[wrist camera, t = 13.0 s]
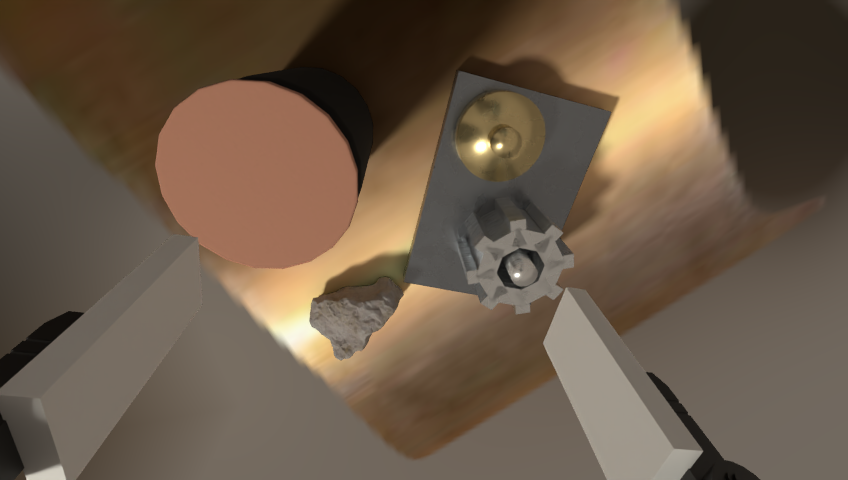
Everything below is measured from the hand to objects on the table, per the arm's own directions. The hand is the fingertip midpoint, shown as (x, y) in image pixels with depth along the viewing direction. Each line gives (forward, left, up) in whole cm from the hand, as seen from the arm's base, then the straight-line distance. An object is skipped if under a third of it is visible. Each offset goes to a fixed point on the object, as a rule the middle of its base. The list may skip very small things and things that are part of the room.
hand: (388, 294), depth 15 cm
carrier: (+3, +12, -27) cm, 30 cm away
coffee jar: (0, -7, -27) cm, 28 cm away
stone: (+19, 0, -27) cm, 33 cm away
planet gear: (+7, +14, -26) cm, 30 cm away
